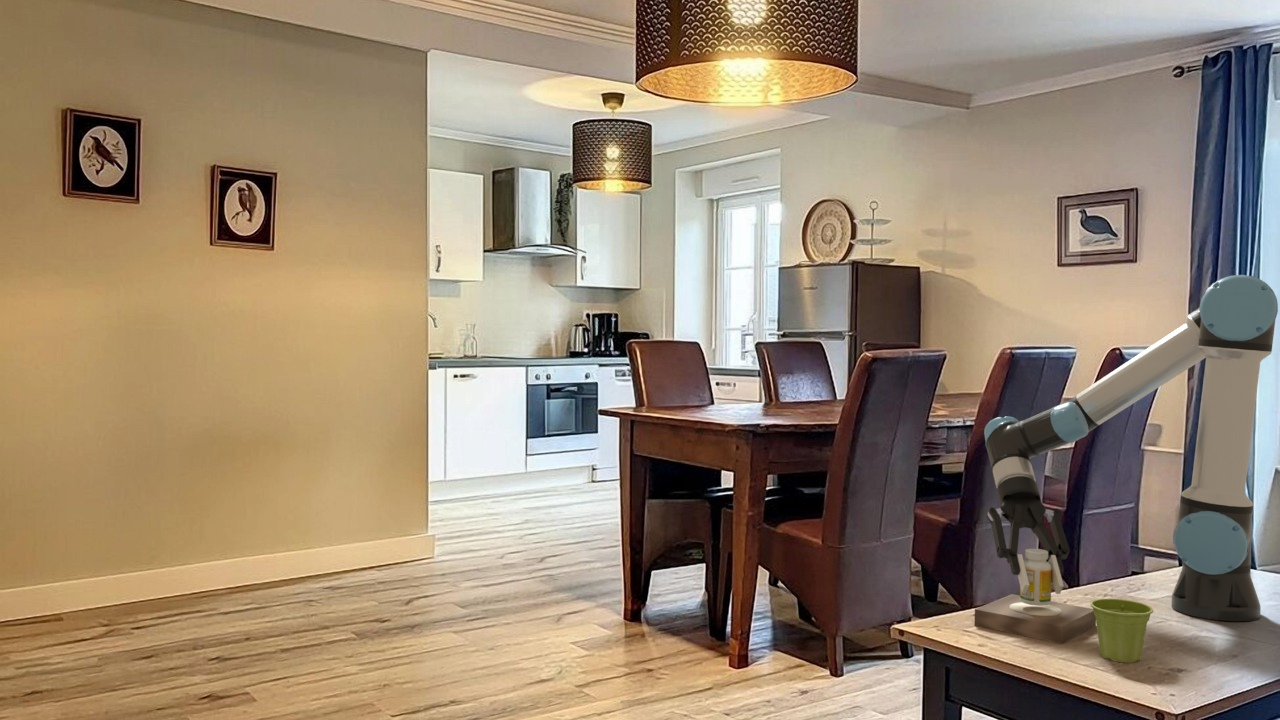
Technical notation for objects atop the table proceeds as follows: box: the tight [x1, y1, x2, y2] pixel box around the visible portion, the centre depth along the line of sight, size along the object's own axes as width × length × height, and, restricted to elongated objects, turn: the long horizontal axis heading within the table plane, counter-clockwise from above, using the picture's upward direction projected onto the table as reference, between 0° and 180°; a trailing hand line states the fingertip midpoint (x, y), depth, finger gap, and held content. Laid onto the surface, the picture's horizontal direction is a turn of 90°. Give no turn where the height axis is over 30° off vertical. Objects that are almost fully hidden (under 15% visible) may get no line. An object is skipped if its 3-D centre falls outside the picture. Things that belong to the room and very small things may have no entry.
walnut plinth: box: [974, 593, 1097, 645], centre depth 189 cm, size 16×16×3 cm
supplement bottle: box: [1019, 548, 1052, 606], centre depth 189 cm, size 5×5×10 cm
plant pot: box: [1089, 598, 1154, 664], centre depth 170 cm, size 9×9×9 cm
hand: (1042, 589), depth 185 cm, fingers closed on supplement bottle, 5 cm apart
